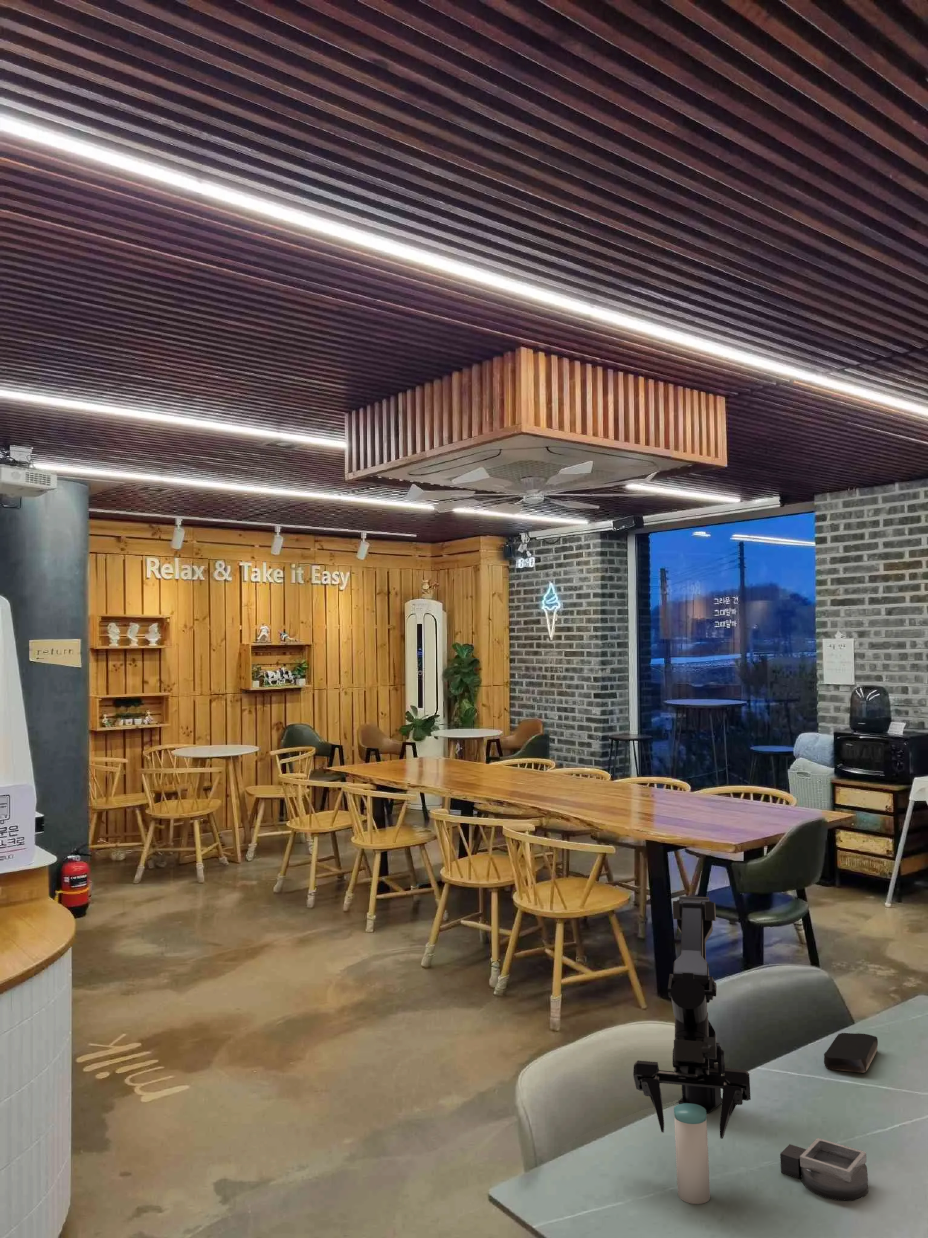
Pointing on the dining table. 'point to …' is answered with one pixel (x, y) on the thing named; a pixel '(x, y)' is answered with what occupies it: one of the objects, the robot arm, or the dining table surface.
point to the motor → (828, 1169)
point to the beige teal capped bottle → (692, 1153)
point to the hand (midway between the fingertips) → (691, 1134)
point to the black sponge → (851, 1052)
